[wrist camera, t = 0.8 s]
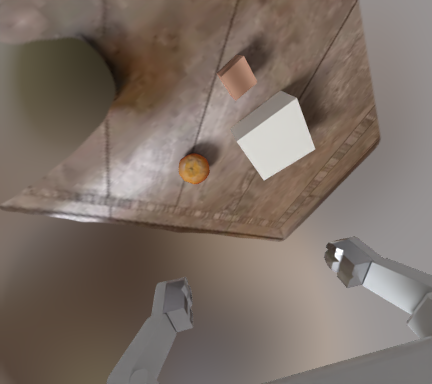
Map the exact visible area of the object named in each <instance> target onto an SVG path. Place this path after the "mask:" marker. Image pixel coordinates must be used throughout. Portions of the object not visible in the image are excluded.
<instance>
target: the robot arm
mask: <svg viewBox="0 0 432 384" xmlns="http://www.w3.org/2000/svg"><path fill="white" fill-rule="evenodd" d="M326 248H327V249H328V250H327V251H326V252H325V256H324V258H325V261H326V263H327V265H328V266H329V268H330V269H331V270H333V271H335V272H337V277H338V278H339V279H340V280H341V281H342V283H343V284H344V285H345V286H346V287H347V288H350V287H354V286H358V285H363V286H364V287H366V288H367V289H369V290H371V291H372V292H374V293H376V294H377V295H379V296H381V297H382V298H384V299H386V300H387V301H389V302H391V303H393V304H394V305H396V306H397V307H399V308H401V309H402V310H404V311H406V312H407V313H409V314H411V316H410V318H409V319H408V320H407V325H408V326H409V327H410V328H411V329H412V331H414V333H415V334H416V335H417V336H418V337H419V338H420V339H419V340H415V341H412V342H408V343H405V344H401V345H397V346H394V347H390V348H387V349H384V350H380V351H376V352H373V353H369V354H365V355H362V356H358V357H355V358H351V359H348V360H344V361H341V362H337V363H334V364H330V365H326V366H323V367H319V368H316V369H312V370H309V371H305V372H302V373H298V374H294V375H291V376H287V377H284V378H280V379H277V380H273V381H270V382H266V383H262V384H432V275H430V274H427V273H424V272H422V271H419V270H416V269H414V268H411V267H409V266H406V265H403V264H401V263H398V262H396V261H393V260H390V259H388V258H386V259H384V258H383V257H381V256H380V255H379V254H377V253H376V252H375V251H374V250H372V249H371V248H370V247H369V246H367V245H366V244H365V243H364V242H362V241H361V240H360V239H359V238H357V237H349V238H346V239H340V240H336V241H333V242H329V243H328V244H327V245H326ZM187 283H188V281H187V278H186V277H184V278H180V279H175V280H170V281H165V282H161V283H158V284H157V286H156V291H155V297H154V303H153V309H152V315H151V317H149V318H148V319H147V320H146V322H145V323H144V325H143V326H142V328H141V329H140V331H139V332H138V334H137V335H136V337H135V338H134V340H133V341H132V343H131V344H130V346H129V347H128V348H127V350H126V352H125V353H124V354H123V356H122V358H121V359H120V360H119V362H118V363H117V365H116V366H115V368H114V369H113V371H112V372H111V374H110V375H109V377H108V380H107V384H160V383H159V382H158V381H157V380H156V379H157V377H158V375H159V373H160V370H161V368H162V366H163V363H164V361H165V359H166V357H167V354H168V352H169V350H170V348H171V345H172V343H173V341H174V339H175V336H176V334H177V333H176V332H179V331H182V330H186V329H190V328H193V313H192V310H191V306H192V293H191V289H190V286H189V285H188V284H187Z"/></svg>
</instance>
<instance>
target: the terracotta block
mask: <svg viewBox="0 0 432 384" xmlns="http://www.w3.org/2000/svg"><path fill="white" fill-rule="evenodd" d="M217 75H218V76H219V78H220V79H221V81H222V82H223V84H224V86H225V87H226V89H227V90H228V92H229V94H230V95H231V96H232V97H233V98H234V99H235V100H237V99H238V98H240V97H241V96H242V95H243V94H244V93H245V92H247V91H248V90H249V89H250V88H251V87H253V86H254V85H255V84H256V83H257V81H256V79H255V77H254V75H253V73H252V71H251V69H250V67H249V65H248V63H247V61H246V59H245V57H244V56H242V55H236V56H235V57H234V58H233V59H232V60H230V61H229V62H228V63H227V64H226V65H225V66H224V67H223V68H222V69H221V70H220V71H219V72H218V73H217Z"/></svg>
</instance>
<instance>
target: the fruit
mask: <svg viewBox="0 0 432 384" xmlns="http://www.w3.org/2000/svg"><path fill="white" fill-rule="evenodd" d="M209 172H210V170H209V164H208V162H207V160H206V159H205V158H204V157H203V156H201V155H199V154H195V153H193V154H189V155H187V156H185V157H184V158H182V159H181V160H180V163H179V174H180V176H181V177H182V178H183V180H184V181H186V182H190V183H192V184H199V183H201V182H202V181H204V180H205V179H206V178H207V176H208V175H209Z"/></svg>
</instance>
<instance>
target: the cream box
mask: <svg viewBox="0 0 432 384" xmlns="http://www.w3.org/2000/svg"><path fill="white" fill-rule="evenodd" d="M230 130H231V132H232V133H233V135H234V137H235V139H236V141H237V143H238V144H239V145H240V147H241V148H242V150H243V151H244V153H245V154H246V155H247V157H248V158H249V160H250V161H251V163H252V164H253V165H254V167H255V168H256V170H257V171H258V173H259V174H260V175H261V177H262V178H263V180H266V179H267V178H269V177H271V176H272V175H274V174H275V173H277V172H279V171H280V170H282V169H284V168H285V167H287V166H289V165H290V164H292V163H293V162H295V161H297V160H298V159H300V158H302V157H303V156H305V155H307V154H308V153H310V152H311V151H313V150H315V147H314V144H313V141H312V139H311V136H310V133H309V130H308V128H307V125H306V122H305V119H304V116H303V114H302V111H301V108H300V105H299V103H298V100H297V98H296V97H294V96H292V95H289V94H287V93H285V92H283V91H281V90H280V91H279V92H278V93H276V94H275V95H274V96H272V97H271V98H270V99H269V100H267V101H266V102H265V103H263V104H262V105H261V106H259V107H258V108H257V109H255V110H254V111H253V112H251V113H250V114H249V115H248V116H246V117H245V118H244V119H242V120H241V121H240V122H238V123H237V124H236V125H234V126H233V127H232V128H231V129H230Z"/></svg>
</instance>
